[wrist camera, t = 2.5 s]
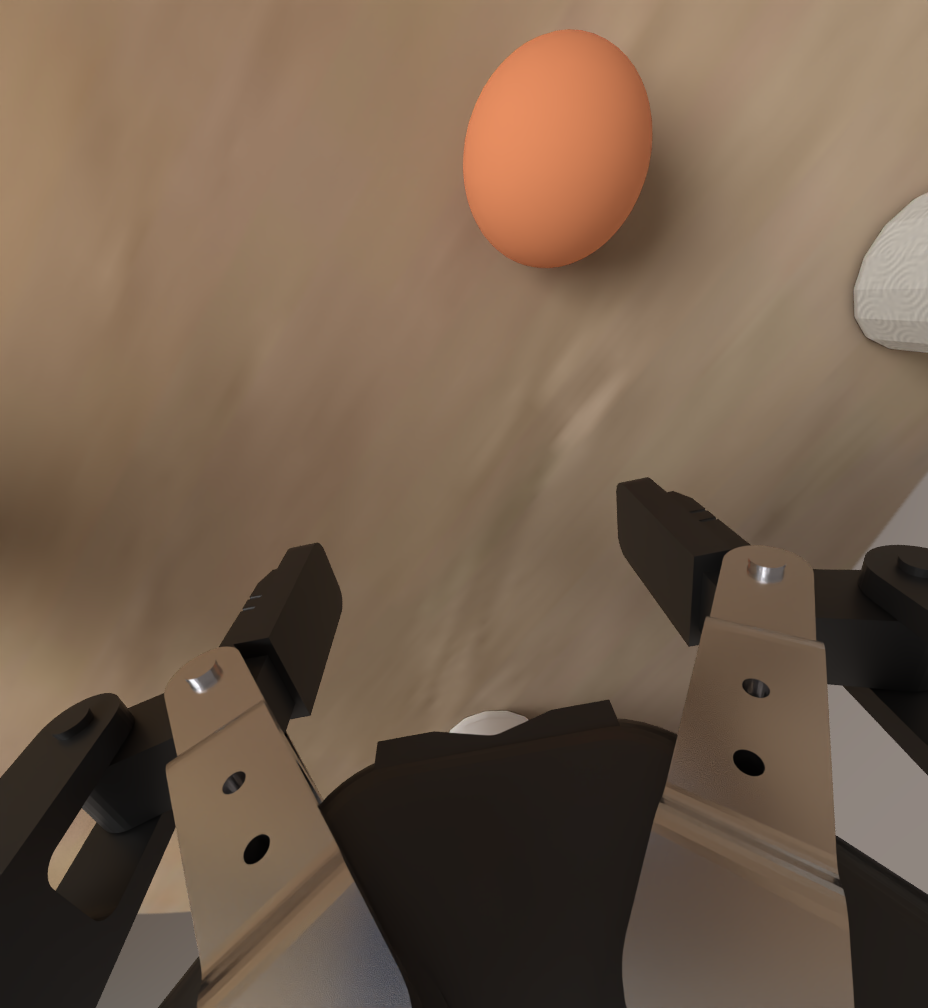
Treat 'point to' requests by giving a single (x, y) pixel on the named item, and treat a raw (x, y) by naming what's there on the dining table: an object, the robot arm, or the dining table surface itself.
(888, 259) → the paper towel roll
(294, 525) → the dining table surface
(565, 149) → the ball
